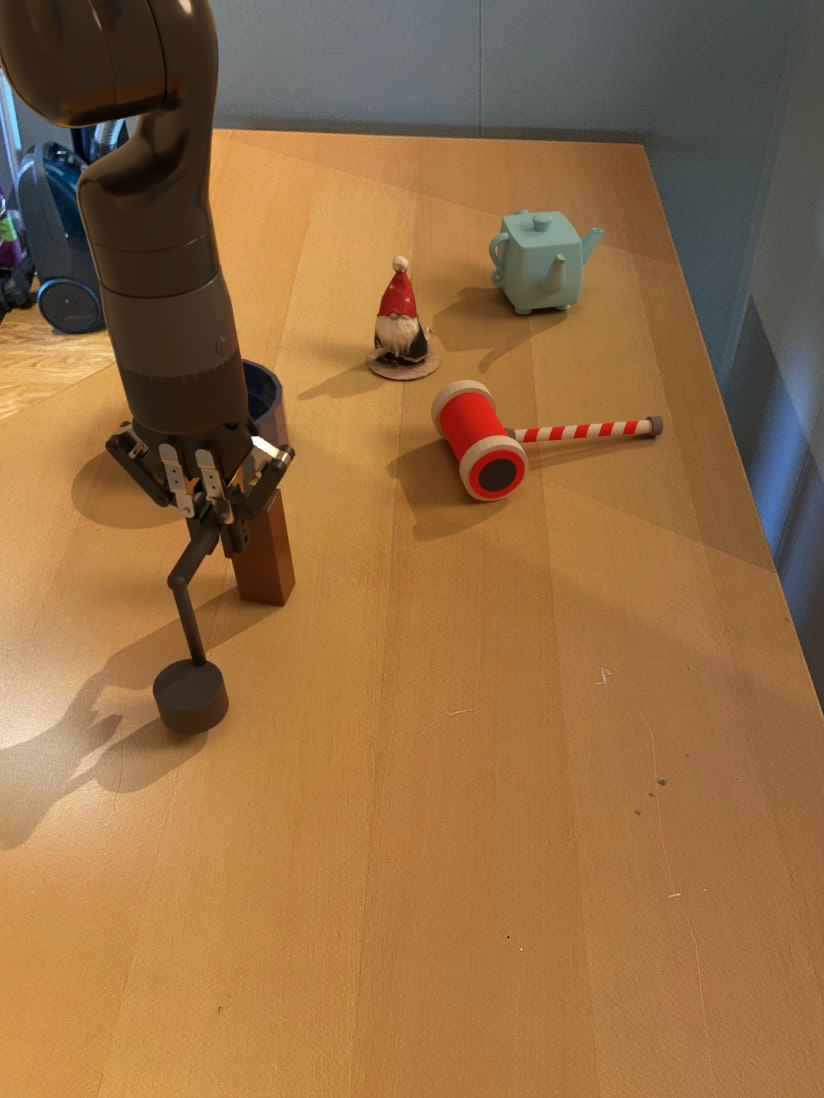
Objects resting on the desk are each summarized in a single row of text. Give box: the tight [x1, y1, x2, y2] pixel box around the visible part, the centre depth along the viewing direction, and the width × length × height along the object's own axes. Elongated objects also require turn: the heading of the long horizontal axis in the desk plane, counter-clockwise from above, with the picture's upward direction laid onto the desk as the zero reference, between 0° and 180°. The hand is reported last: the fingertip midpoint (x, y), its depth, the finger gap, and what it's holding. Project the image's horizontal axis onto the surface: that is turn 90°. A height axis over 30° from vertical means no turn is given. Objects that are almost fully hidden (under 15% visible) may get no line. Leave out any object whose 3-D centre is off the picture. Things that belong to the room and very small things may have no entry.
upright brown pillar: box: [230, 483, 297, 607], centre depth 79 cm, size 4×3×10 cm
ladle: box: [152, 454, 256, 735], centre depth 73 cm, size 19×5×12 cm, turn 168°
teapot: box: [488, 209, 604, 315], centre depth 116 cm, size 18×14×10 cm
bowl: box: [241, 357, 290, 478], centre depth 95 cm, size 14×14×6 cm
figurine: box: [366, 255, 442, 381], centre depth 107 cm, size 8×10×12 cm
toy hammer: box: [430, 379, 664, 502], centre depth 95 cm, size 23×12×6 cm, turn 108°
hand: (222, 549), depth 72 cm, fingers closed on ladle, 1 cm apart
